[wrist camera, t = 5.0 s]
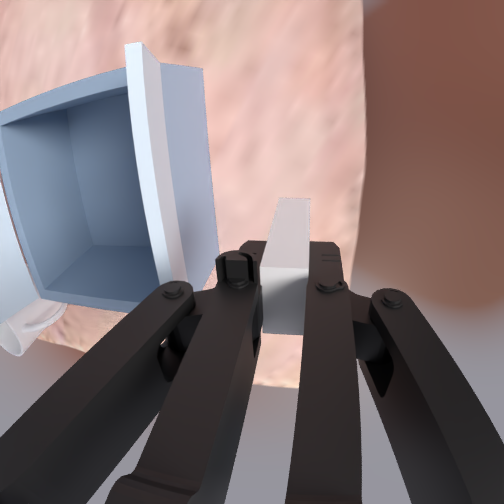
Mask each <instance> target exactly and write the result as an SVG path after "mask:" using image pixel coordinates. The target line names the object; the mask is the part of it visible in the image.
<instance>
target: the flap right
mask: <svg viewBox="0 0 504 504" xmlns="http://www.w3.org/2000/svg"><path fill="white" fill-rule="evenodd" d="M125 58H126V73H127V85H128V96H129V106H130V115H131V124H132V132H133V140H134V147H135V155H136V162H137V168H138V175H139V181H140V187H141V193H142V199H143V205H144V210H145V216H146V221H147V226H148V231H149V236H150V241H151V246H152V251H153V255H154V260H155V265H156V269H157V274H158V278H159V282H160V285H162V284H164V283H167V282H169V281H176V280H178V281H185V282H188V278H187V273H186V267H185V262H184V256H183V250H182V244H181V238H180V231H179V225H178V219H177V212H176V205H175V198H174V191H173V184H172V176H171V168H170V160H169V152H168V144H167V135H166V125H165V115H164V105H163V94H162V82H161V69H160V62H159V61H158V60H157V59H156V58H155V56H154V55H153V54H152V53H151V52H150V51H149V50H148V48H147V47H146V46H145V45H144V44H143V43H142V42H136V43H131V44H126V45H125Z"/></svg>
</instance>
